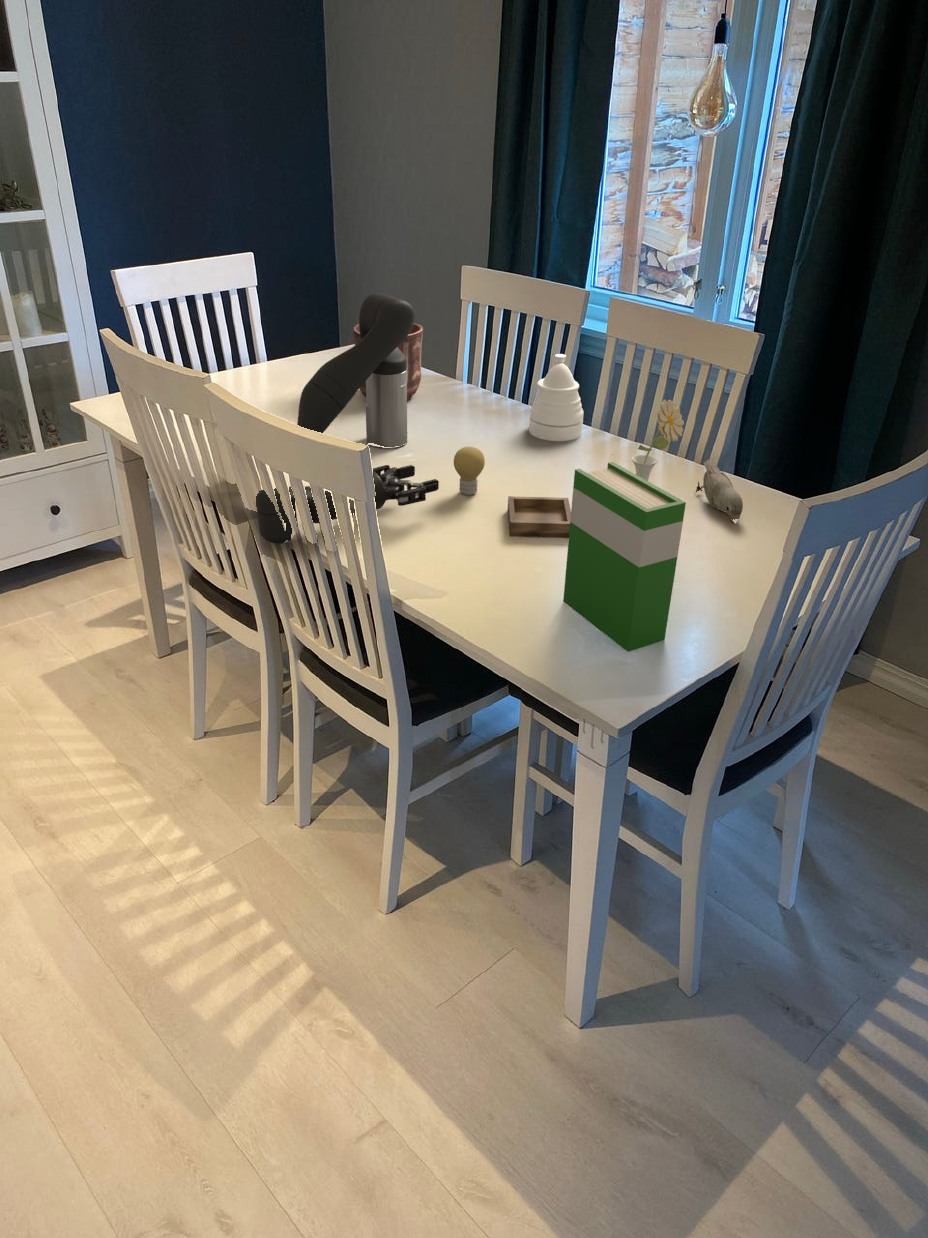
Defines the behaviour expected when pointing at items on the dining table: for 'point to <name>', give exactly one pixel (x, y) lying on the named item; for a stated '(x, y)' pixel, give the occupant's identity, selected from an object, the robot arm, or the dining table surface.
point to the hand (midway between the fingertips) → (425, 477)
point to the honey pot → (557, 405)
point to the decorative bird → (721, 491)
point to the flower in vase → (660, 437)
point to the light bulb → (469, 468)
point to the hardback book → (622, 554)
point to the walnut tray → (539, 517)
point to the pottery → (412, 354)
